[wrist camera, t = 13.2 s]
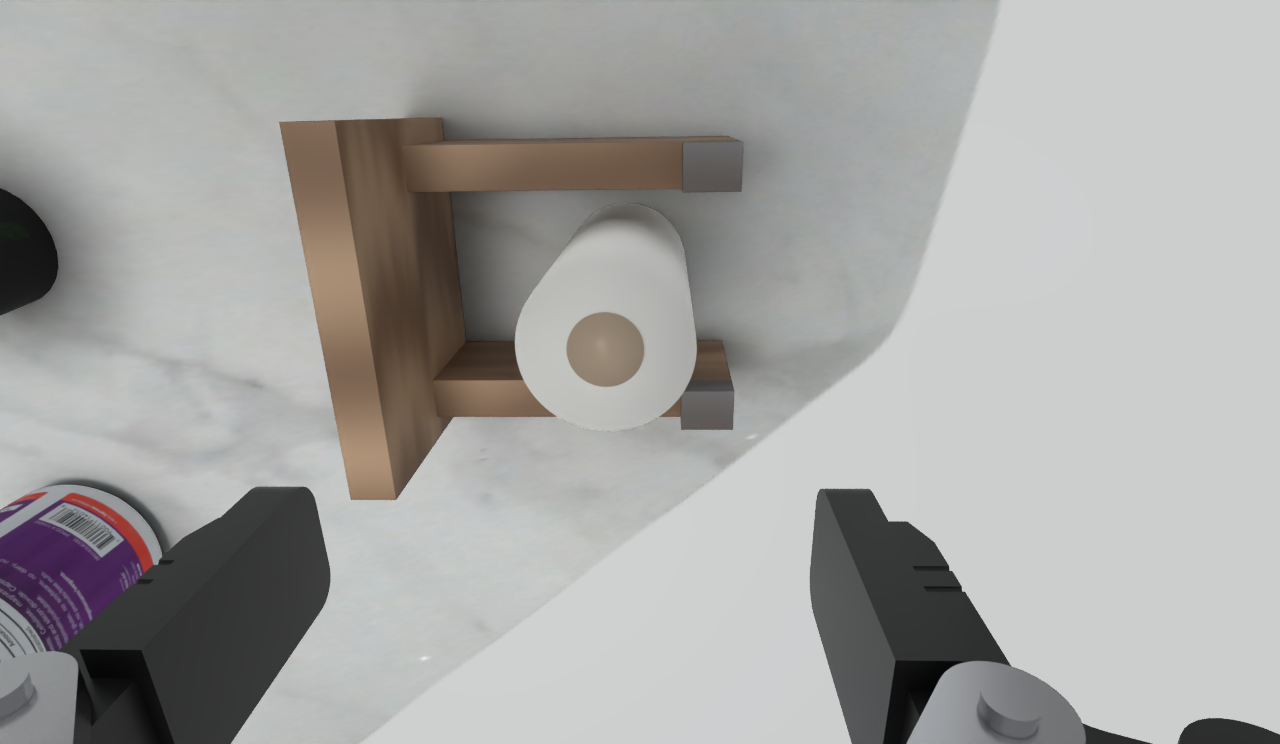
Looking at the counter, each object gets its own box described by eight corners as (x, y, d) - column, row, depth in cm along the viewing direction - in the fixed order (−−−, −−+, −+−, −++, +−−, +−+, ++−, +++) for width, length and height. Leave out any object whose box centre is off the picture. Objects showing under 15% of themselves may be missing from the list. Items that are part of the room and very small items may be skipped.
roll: (566, 203, 30) (506, 260, 19) (685, 202, 30) (698, 259, 18) (572, 318, 32) (520, 433, 20) (684, 317, 32) (695, 433, 20)
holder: (403, 118, 29) (279, 122, 20) (728, 113, 28) (758, 114, 19) (439, 390, 33) (351, 499, 24) (720, 390, 33) (742, 501, 23)
